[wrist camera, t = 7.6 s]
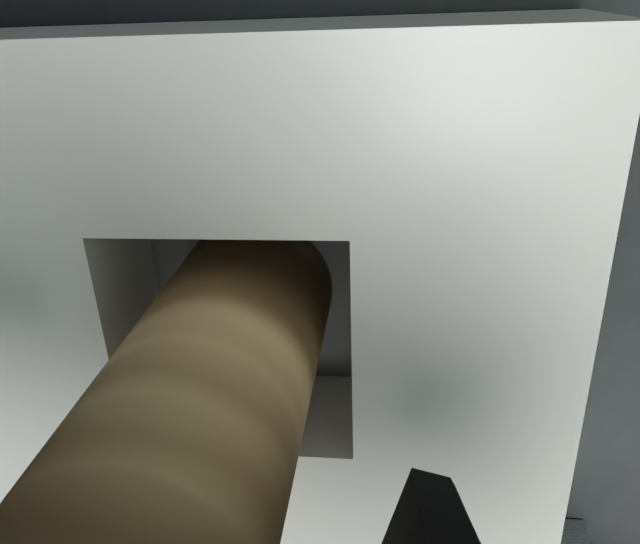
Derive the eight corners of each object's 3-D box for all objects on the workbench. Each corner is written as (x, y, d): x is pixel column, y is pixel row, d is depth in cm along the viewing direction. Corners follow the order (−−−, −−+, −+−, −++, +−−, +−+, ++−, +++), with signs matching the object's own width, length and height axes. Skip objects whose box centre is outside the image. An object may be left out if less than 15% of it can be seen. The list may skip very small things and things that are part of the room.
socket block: (-54, 29, 14) (-208, 45, 10) (581, 8, 12) (656, 19, 9) (106, 611, 23) (51, 731, 19) (496, 644, 21) (516, 781, 17)
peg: (198, 199, 14) (-8, 429, 7) (349, 242, 14) (298, 516, 7) (176, 327, 16) (-12, 622, 9) (311, 365, 16) (238, 691, 9)
